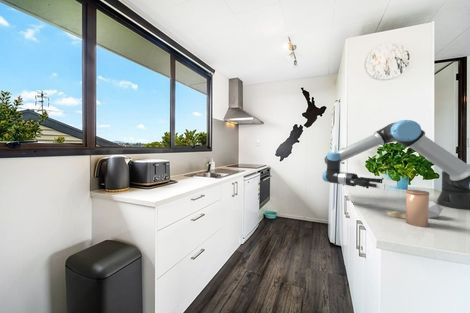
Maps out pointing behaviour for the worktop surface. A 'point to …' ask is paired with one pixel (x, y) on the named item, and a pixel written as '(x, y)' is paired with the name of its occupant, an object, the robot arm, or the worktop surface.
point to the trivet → (396, 214)
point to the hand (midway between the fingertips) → (391, 185)
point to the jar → (417, 207)
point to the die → (434, 210)
